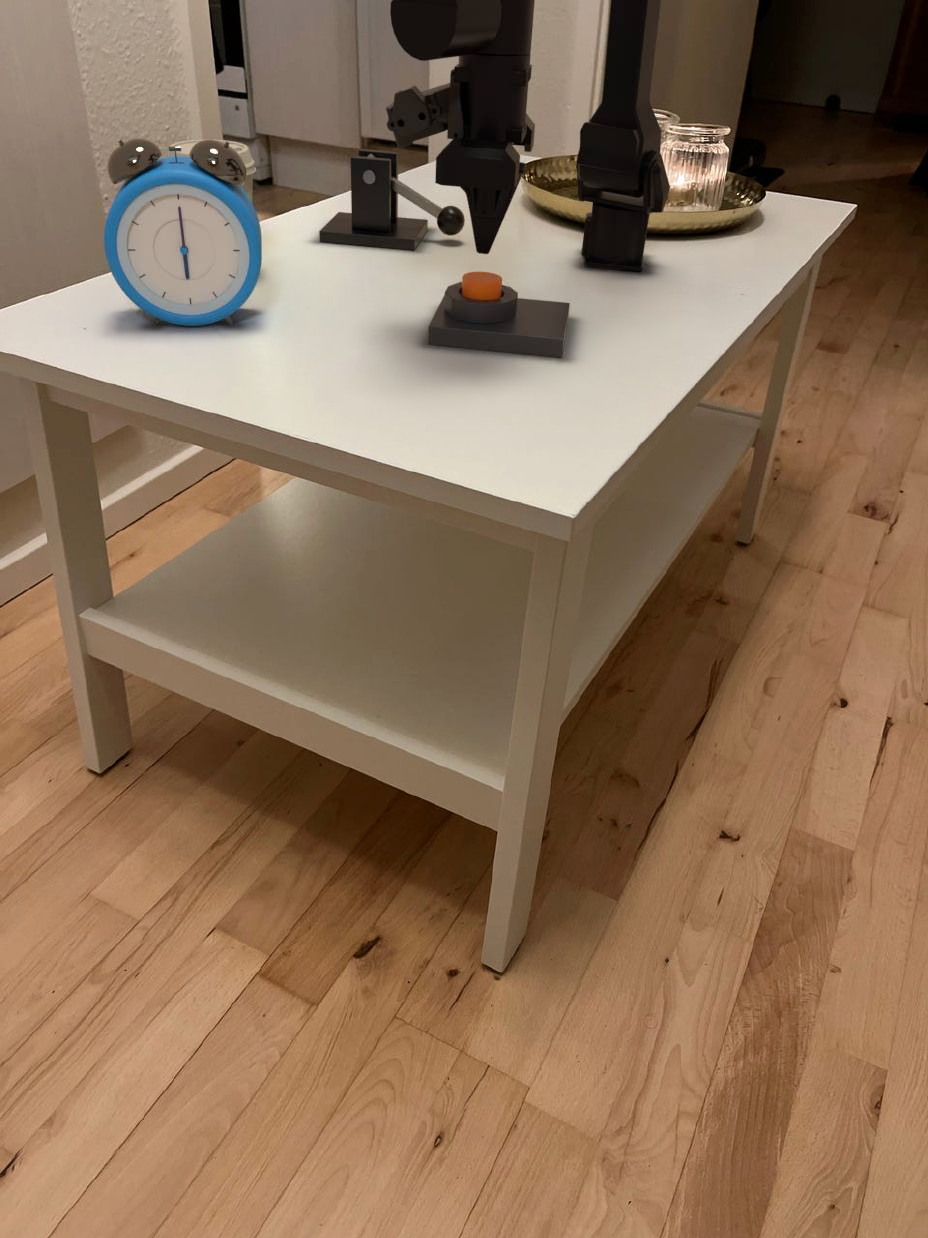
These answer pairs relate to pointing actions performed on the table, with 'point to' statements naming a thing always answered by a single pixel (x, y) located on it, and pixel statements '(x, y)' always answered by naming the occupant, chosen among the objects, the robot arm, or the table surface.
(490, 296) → the button
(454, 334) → the button block
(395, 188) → the lever
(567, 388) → the table surface
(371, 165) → the bracket
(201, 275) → the alarm clock
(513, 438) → the table surface
